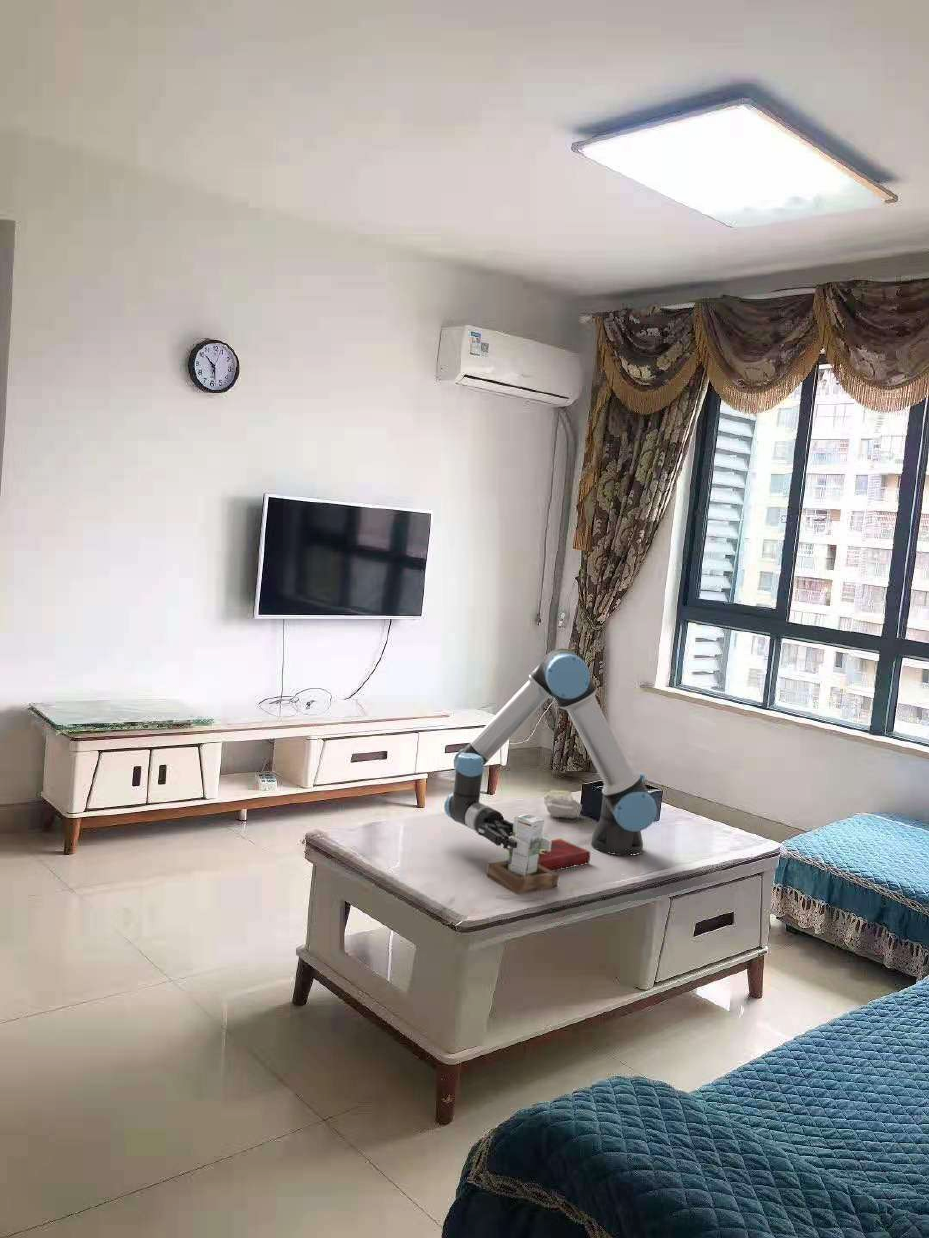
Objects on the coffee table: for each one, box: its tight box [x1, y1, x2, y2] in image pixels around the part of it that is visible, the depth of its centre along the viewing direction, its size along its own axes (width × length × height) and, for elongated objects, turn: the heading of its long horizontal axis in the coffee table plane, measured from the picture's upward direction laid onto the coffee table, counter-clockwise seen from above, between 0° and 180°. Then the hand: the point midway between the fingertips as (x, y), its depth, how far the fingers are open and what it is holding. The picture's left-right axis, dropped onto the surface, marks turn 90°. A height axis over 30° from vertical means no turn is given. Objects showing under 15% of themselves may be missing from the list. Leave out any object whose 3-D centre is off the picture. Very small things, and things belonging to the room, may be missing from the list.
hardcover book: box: [506, 838, 591, 872], centre depth 283 cm, size 12×21×4 cm, turn 131°
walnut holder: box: [486, 860, 560, 895], centre depth 265 cm, size 13×13×4 cm
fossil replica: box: [543, 789, 583, 819], centre depth 330 cm, size 12×8×10 cm
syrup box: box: [508, 813, 545, 876], centre depth 264 cm, size 6×6×14 cm
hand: (538, 847), depth 260 cm, fingers closed on syrup box, 7 cm apart
